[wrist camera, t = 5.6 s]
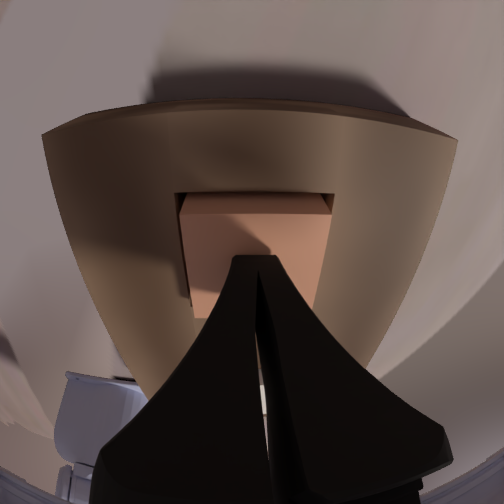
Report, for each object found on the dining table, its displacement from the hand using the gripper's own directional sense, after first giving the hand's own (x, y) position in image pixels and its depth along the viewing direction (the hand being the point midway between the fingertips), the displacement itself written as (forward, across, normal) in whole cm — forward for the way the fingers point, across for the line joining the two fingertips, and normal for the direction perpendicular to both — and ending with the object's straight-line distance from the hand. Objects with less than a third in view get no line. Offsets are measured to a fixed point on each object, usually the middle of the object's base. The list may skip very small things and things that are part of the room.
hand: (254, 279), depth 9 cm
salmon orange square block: (+3, 0, 0) cm, 3 cm away
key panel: (+4, 0, +5) cm, 7 cm away
